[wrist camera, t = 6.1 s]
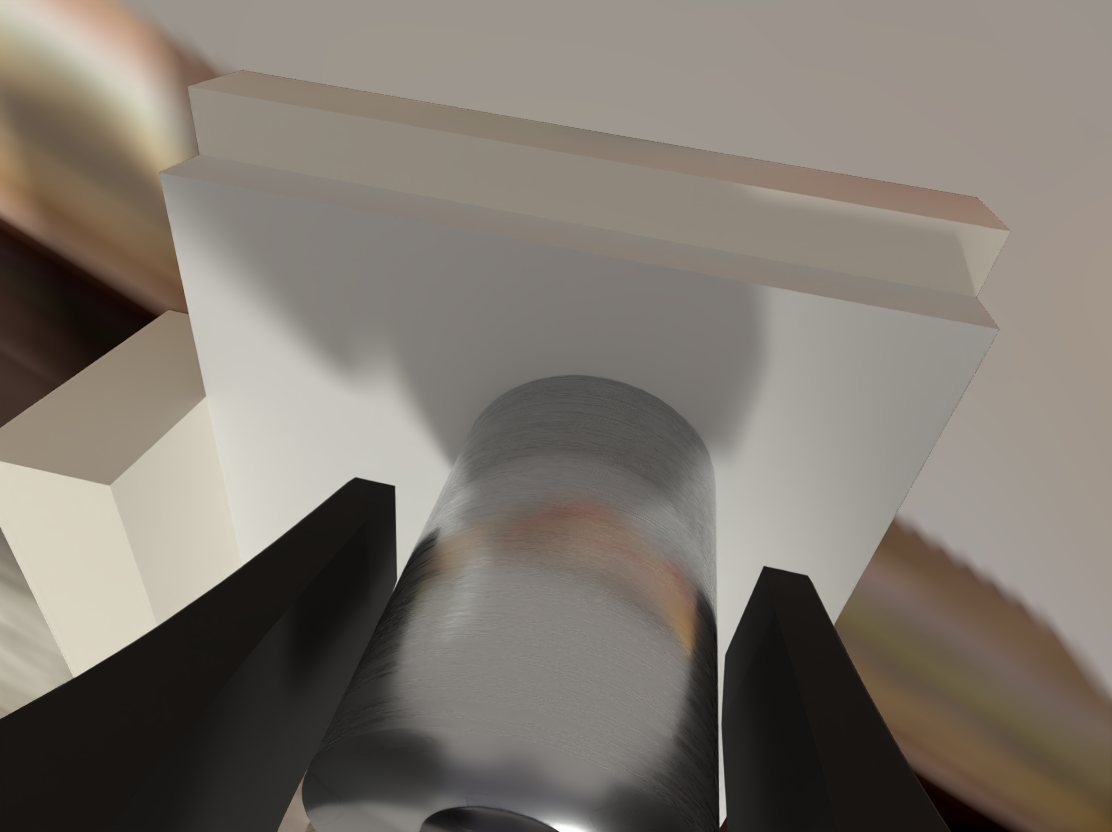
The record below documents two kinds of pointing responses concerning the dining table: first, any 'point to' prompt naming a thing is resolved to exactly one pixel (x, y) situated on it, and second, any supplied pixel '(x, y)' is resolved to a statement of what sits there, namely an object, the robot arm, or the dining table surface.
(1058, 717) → the dining table surface
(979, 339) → the scale
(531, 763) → the cylinder
